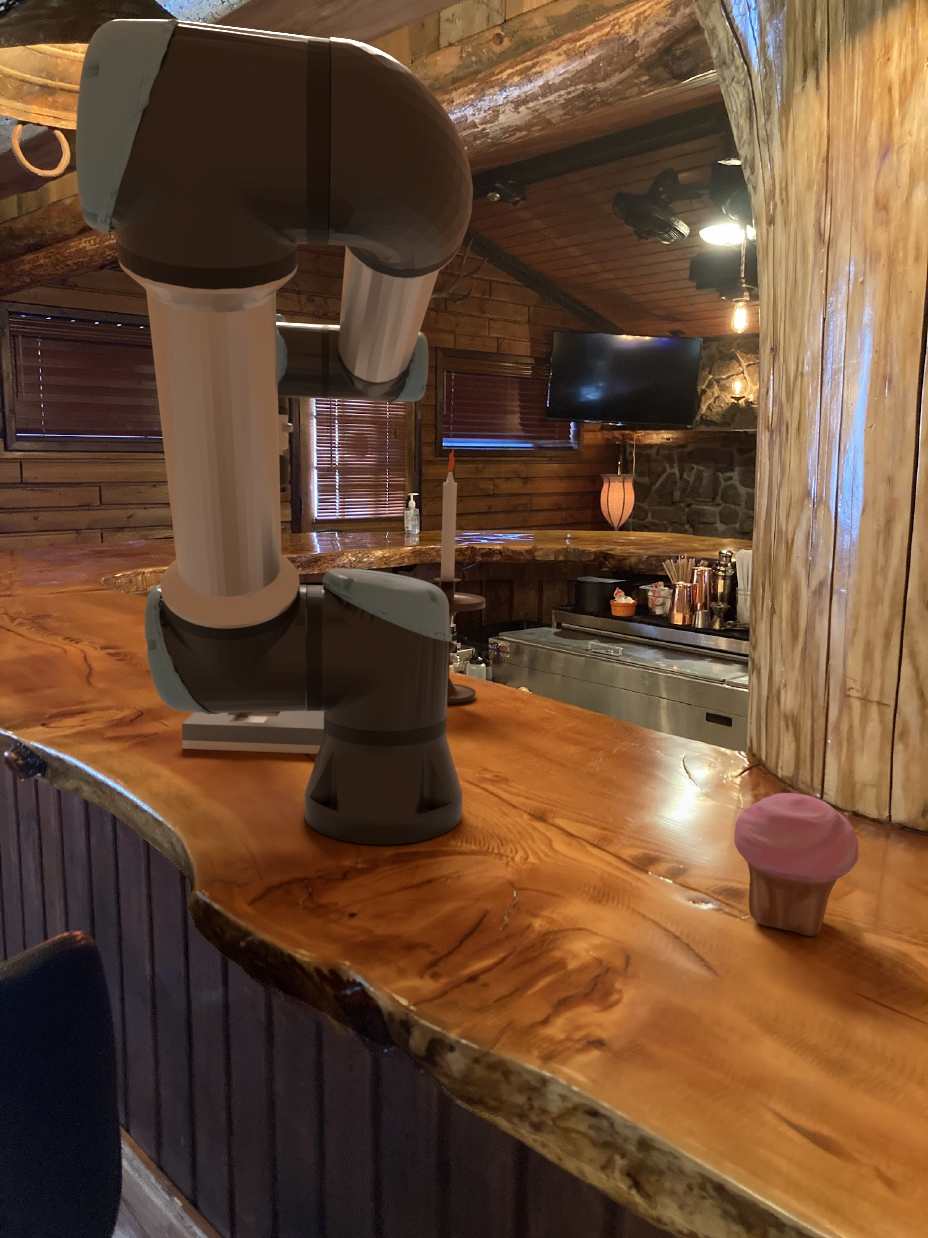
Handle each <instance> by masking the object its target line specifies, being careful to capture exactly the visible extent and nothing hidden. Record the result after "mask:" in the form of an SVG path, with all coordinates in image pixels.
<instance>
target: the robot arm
mask: <svg viewBox="0 0 928 1238" xmlns="http://www.w3.org/2000/svg"><path fill="white" fill-rule="evenodd" d="M78 87H79V88H78V97H77V108H76V125H75V128H76V129H75V159H76V160H75V162H76V163H75V164H76V165H75V166H76V183H77V193H78V200H79V203H80V206H81V207H82V208H81V209H82V211H81V212H82V216H83V219H84V222H86V224H87V225H88V226H89V227H90V228H92V229H93V230H97V231H99V232H100V233H101V234H108V235H109V234H110V233H111V232H113V234H114V237H115V245H116V251H117V260H118V263H119V266H120V267H121V269H122V270H123V272H125V274H127V275H128V276H129V277H131V278H132V279H134V281H135V282H137V283H138V284H139V285H141V287H143V288H144V289H145V291H146V299H147V308H148V309H147V310H148V317H149V326H150V327H149V328H150V334H151V335H150V336H151V346H152V353H153V365H154V371H155V372H154V373H155V379H156V380H155V382H156V388H157V389H156V390H157V398H158V407H159V414H160V415H159V416H160V426H161V435H162V444H163V450H164V453H163V454H164V462H165V471H166V479H167V489H168V496H169V497H168V498H169V505H170V506H169V507H170V514H171V515H170V516H171V523H172V532H173V540H174V541H173V542H174V548H175V549H174V550H175V560H173V561H172V562H171V563H170V564H169V565H168V566H167V567H166V569H165V571H164V572H163V574H162V577H161V579H160V580H161V581H160V584H156V585H155V586H153V587H152V588H151V589H150V591H149V593H148V596H147V598H146V603H145V604H146V605H145V610H144V636H145V637H144V638H145V640H146V645H147V649H146V657H147V658H146V659H147V662H148V668H149V672H150V675H151V678H152V682H153V685H154V687H155V689H156V692H157V694H158V696H159V697H160V699H161V700H162V702H163V703H164V704H165V705H166V706H167V707H169V708H171V709H172V710H174V711H178V712H186V713H188V712H189V713H195V712H200V713H206V714H209V715H210V714H219V713H239V712H282V711H324V736H323V740H322V743H321V746H320V749H319V752H318V754H317V755H316V758H315V761H314V763H313V767H312V770H311V773H310V777H309V778H308V782H307V784H306V787H305V793H304V819H305V821H306V823H307V824H308V825H309V826H310V827H311V828H312V829H314V830H315V831H317V832H318V833H320V834H323V835H324V836H327V837H330V838H332V839H336V840H340V841H344V842H349V843H357V844H363V845H400V844H401V845H402V844H409V843H416V842H422V841H426V840H430V839H433V838H436V837H439V836H441V835H444V834H446V833H447V832H450V831H451V830H453V828H455V827H457V825H459V823H460V822H461V819H462V818H463V816H462V815H463V801H464V800H463V797H464V796H463V789H462V786H461V784H460V780H459V776H458V773H457V770H456V766H455V763H454V759H453V757H452V753H451V750H450V746H449V743H448V740H447V717H448V716H447V715H448V706H447V687H448V654H449V641H452V634H451V633H450V623H449V603H448V599H447V597H446V595H445V593H444V592H443V591H442V590H441V589H440V587H438V586H437V585H435V584H433V583H430V582H429V581H425V580H422V579H419V578H416V577H411V576H406V575H401V574H395V573H390V572H384V571H378V570H373V569H372V570H371V569H370V570H369V569H363V568H362V569H360V568H343V567H342V568H340V567H338V568H337V567H336V568H331V569H330V568H329V569H327V571H326V572H325V574H324V576H323V577H322V582H323V585H300V575H299V573H298V571H297V568H296V567H295V565H294V564H293V563H292V562H291V560H289V559H288V558H287V557H285V556H284V555H283V554H282V529H281V527H282V522H281V520H282V518H281V488H286V487H287V486H288V485H289V479H290V476H289V475H290V474H289V472H290V468H289V467H290V465H289V464H290V462H289V461H290V460H289V459H290V457H289V458H288V455H284V451H287V449H289V434H288V433H292V432H293V431H294V425H293V424H292V423H288V422H289V407H288V405H289V398H297V399H298V398H300V399H325V400H326V399H327V400H343V401H344V400H345V401H346V400H347V401H363V402H382V403H383V402H384V403H388V404H395V403H397V402H398V403H399V402H418V401H420V400H421V399H422V398H423V397H424V396H425V393H426V388H427V382H428V378H429V377H428V376H429V343H428V339H427V337H426V335H425V334H424V333H423V332H422V331H421V328H422V325H423V322H424V319H425V316H426V313H427V311H428V306H429V303H430V300H431V297H432V293H433V290H434V287H435V284H436V282H437V277H438V275H439V272H440V270H442V269H443V268H445V267H446V266H447V265H448V264H449V263H450V262H451V261H452V260H453V259H454V258H455V256H456V254H457V253H458V252H459V250H460V247H461V245H462V244H463V241H464V238H465V236H466V233H467V231H468V230H467V229H468V227H469V224H470V220H471V216H472V211H473V197H474V196H473V195H474V194H473V193H474V185H473V178H472V173H471V171H472V170H471V165H470V161H469V158H468V157H467V153H466V150H465V147H464V144H463V142H462V139H461V136H460V135H459V132H458V129H457V128H456V125H455V124H454V122H453V120H452V119H451V116H450V115H449V113H448V111H446V109H445V107H444V106H443V105H442V104H441V102H440V101H439V98H438V97H436V95H435V93H434V92H433V91H432V90H431V89H429V87H428V86H427V85H426V84H425V83H423V81H422V80H421V79H420V78H419V77H418V76H417V75H416V74H415V73H414V72H413V71H412V70H410V68H408V67H406V66H405V65H404V64H402V63H401V62H400V61H398V60H397V59H396V58H395V57H393V56H391V55H389V54H387V53H385V52H383V51H382V50H380V49H378V48H376V47H374V46H371V45H369V44H366V43H364V42H361V41H360V42H359V41H356V40H352V39H347V38H339V37H338V38H337V37H329V38H326V37H316V36H306V35H299V34H298V35H297V34H291V33H290V34H289V33H284V32H283V33H282V32H273V31H265V30H257V29H250V28H242V27H234V26H233V27H232V26H225V25H219V24H218V25H217V24H209V23H202V22H201V23H200V22H194V21H192V22H191V21H185V20H180V19H179V18H171V19H135V18H132V19H131V18H129V19H124V18H121V19H113V20H109V21H106V22H105V23H103V24H102V25H101V26H100V27H98V28H97V29H96V31H95V32H94V33H93V34H92V37H91V38H90V41H89V43H88V45H87V48H86V51H85V54H84V58H83V62H82V68H81V75H80V81H79V86H78ZM298 245H316V246H327V245H333V246H342V247H343V246H344V247H345V253H344V254H345V255H344V264H343V265H344V268H343V280H342V295H341V305H340V306H341V307H340V317H339V318H340V319H339V320H340V321H339V324H338V325H337V324H335V325H334V324H314V323H313V324H312V323H300V322H298V323H295V322H288V321H287V319H286V318H285V316H283V315H281V314H279V313H277V299H276V298H277V295H276V294H277V291H279V289H280V288H282V287H283V285H286V283H288V282H289V280H290V279H292V278H293V277H294V275H296V273H297V271H298V260H299V259H298ZM306 586H307V588H306ZM306 592H307V631H306Z"/></svg>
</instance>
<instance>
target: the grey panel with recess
mask: <svg viewBox="0 0 928 1238" xmlns="http://www.w3.org/2000/svg"><path fill="white" fill-rule="evenodd" d="M181 724H182V725H181V728H182V731H181V733H182V736H181V737H182V749H184V750H186V749H187V750H206V751H207V750H210V751H233V752H234V751H235V752H236V751H237V752H239V751H240V752H262V753H263V752H265V753H266V752H267V753H289V754H291V753H292V754H311V755H312V754H313V755H314V754H317V755H318V752H319V749H320V746H321V743H322V740H323V736H324V711H282V712H239V713H219V714H210V715H209V714H206V713H200V712H192V714H191V715H190V716H189V717H188V718H187V719H185V721H183V722H182V723H181Z"/></svg>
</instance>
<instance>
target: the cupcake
mask: <svg viewBox="0 0 928 1238" xmlns="http://www.w3.org/2000/svg"><path fill="white" fill-rule="evenodd" d="M734 825H735V826H734V834H733V835H734V846H735V848H736V849H737V851H738V853H739V854H740V855H741V857H743V859H744V860H745V862H747V868H748V870H749V886H748V887H749V889H748V911H749V913H750V916H751V917H752V918H753V920H755V922H756V923H758V924H760V925H761V926H764V927H768V928H775V929H778V930H785V931H788V932H793V933H797V934H800V935H803V936H809V937H813V936H815V935H818V934H819V933H820V931H821V928H822V925H823V922H824V920H825V915H826V910H827V905H828V902H829V898H830V895H831V892H832V890H833V888H834V887H835V885H836V882H837V880H838V879H840V878H842V877H844V876H845V875H847V874H848V873H849V872H851V871H852V869H854V867H855V866H856V864H857V863H858V860H859V854H860V853H859V839H858V836H857V835H856V832H855V829H854V827H853V825H852V824H851V823H850V820H848V818H846V817H845V816H844V815H843V814H842V813H840V812H839V811H837V810H836V809H835V808H833V806H832V805H830V804H829V803H827V802H825V801H824V800H822V799H819V798H817V797H813V796H811V795H807V794H801V793H798V792H797V793H796V792H780V793H775V794H772V795H770V796H767V797H764V798H763V799H761V800H759V801H757V802H755V803H753V804H752V805H750V806H749V807H748V808H746V809H744V811H743V812H740V814H739V816H738V817H737V819H736V822H735V824H734Z"/></svg>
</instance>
